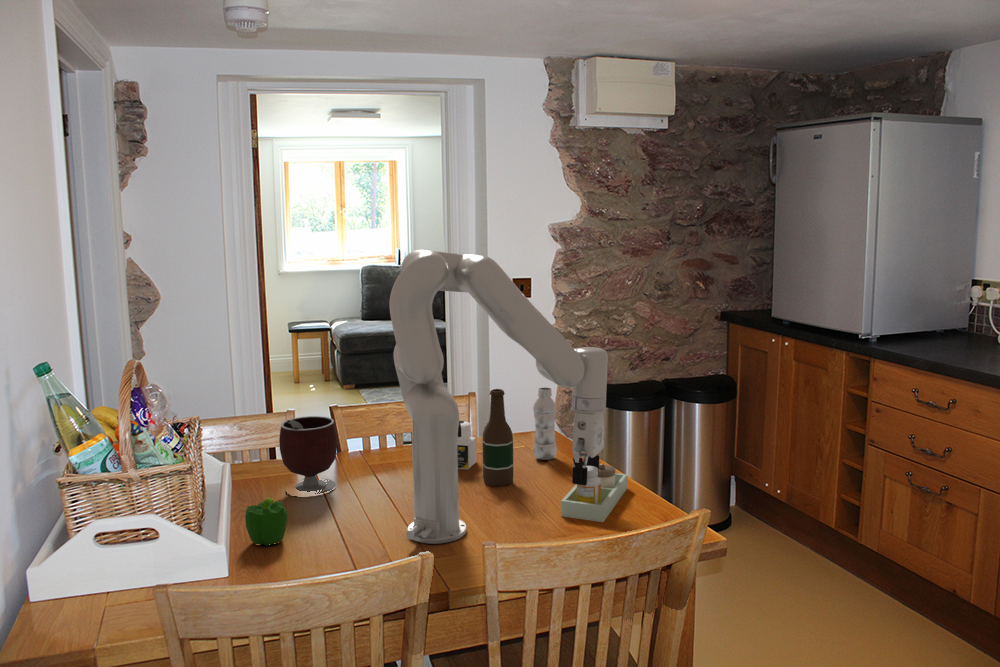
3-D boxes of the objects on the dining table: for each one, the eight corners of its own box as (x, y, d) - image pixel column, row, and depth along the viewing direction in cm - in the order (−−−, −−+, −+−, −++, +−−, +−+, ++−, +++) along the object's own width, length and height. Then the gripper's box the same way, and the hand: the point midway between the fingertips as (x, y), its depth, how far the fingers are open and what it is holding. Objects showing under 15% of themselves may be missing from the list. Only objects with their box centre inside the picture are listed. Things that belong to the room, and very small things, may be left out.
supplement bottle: (590, 503, 174) (590, 463, 173) (605, 510, 170) (606, 469, 168) (571, 508, 171) (571, 467, 170) (586, 516, 167) (587, 473, 166)
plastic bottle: (561, 457, 212) (561, 387, 209) (549, 464, 206) (549, 392, 203) (540, 454, 215) (540, 385, 212) (529, 460, 210) (528, 390, 207)
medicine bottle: (443, 468, 204) (442, 424, 202) (452, 460, 211) (451, 418, 209) (468, 470, 202) (467, 426, 200) (476, 462, 209) (476, 419, 207)
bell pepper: (245, 538, 160) (242, 492, 159) (285, 531, 163) (282, 487, 162) (249, 553, 152) (246, 506, 151) (290, 546, 156) (288, 499, 154)
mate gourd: (301, 477, 198) (297, 403, 195) (348, 482, 194) (345, 406, 191) (267, 498, 183) (262, 418, 180) (318, 503, 179) (314, 421, 176)
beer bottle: (514, 477, 196) (513, 386, 193) (512, 487, 188) (511, 393, 185) (485, 476, 197) (483, 386, 193) (481, 486, 189) (479, 393, 186)
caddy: (603, 526, 164) (603, 506, 163) (561, 520, 167) (561, 500, 167) (627, 492, 184) (627, 474, 184) (588, 487, 188) (589, 469, 187)
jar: (611, 500, 176) (611, 469, 175) (585, 496, 179) (585, 466, 178) (618, 491, 182) (618, 461, 181) (592, 487, 185) (592, 458, 184)
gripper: (594, 413, 158) (591, 492, 160) (614, 397, 174) (611, 469, 176) (560, 409, 161) (557, 487, 163) (583, 394, 176) (580, 464, 179)
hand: (585, 477), depth 169 cm, fingers open, 9 cm apart
